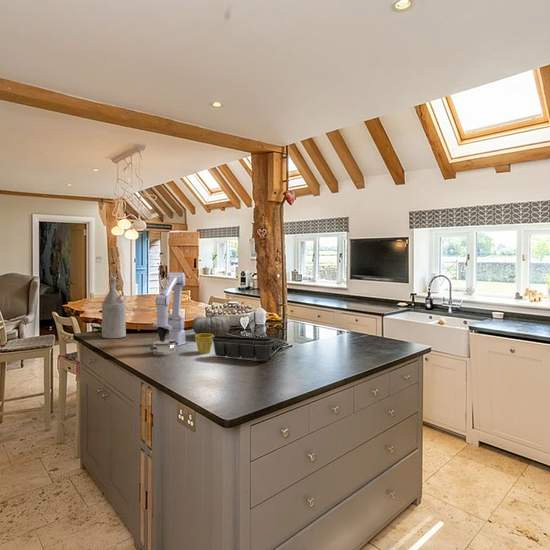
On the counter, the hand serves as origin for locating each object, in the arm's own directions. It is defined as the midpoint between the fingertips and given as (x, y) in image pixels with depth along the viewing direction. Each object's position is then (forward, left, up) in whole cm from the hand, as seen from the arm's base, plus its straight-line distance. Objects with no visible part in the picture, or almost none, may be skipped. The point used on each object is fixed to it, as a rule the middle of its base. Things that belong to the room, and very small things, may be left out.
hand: (162, 340), depth 220 cm
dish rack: (-35, +37, -7) cm, 51 cm away
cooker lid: (0, +3, -1) cm, 3 cm away
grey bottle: (-6, -58, -7) cm, 59 cm away
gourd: (-48, -11, -7) cm, 50 cm away
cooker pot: (0, +2, -7) cm, 7 cm away
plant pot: (-16, +17, -7) cm, 24 cm away
